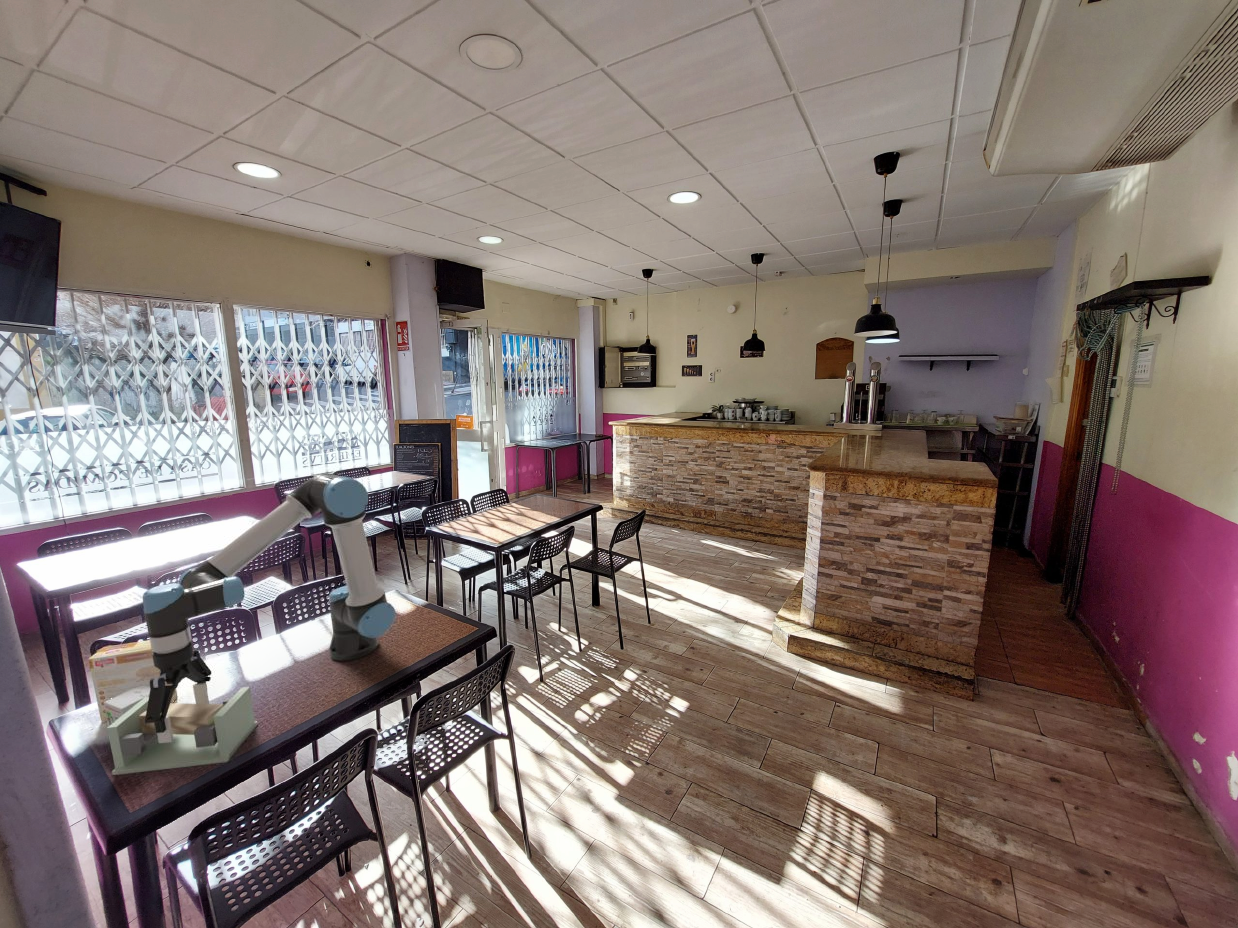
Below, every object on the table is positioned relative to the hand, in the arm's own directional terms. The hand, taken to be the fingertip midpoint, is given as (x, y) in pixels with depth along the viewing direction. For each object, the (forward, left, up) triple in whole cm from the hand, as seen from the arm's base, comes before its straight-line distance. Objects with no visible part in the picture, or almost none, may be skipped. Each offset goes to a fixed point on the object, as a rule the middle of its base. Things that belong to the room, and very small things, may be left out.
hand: (185, 722), depth 128 cm
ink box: (+17, -8, -7) cm, 20 cm away
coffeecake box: (+25, -20, -7) cm, 33 cm away
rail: (0, 0, -1) cm, 1 cm away
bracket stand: (0, 0, -7) cm, 7 cm away
